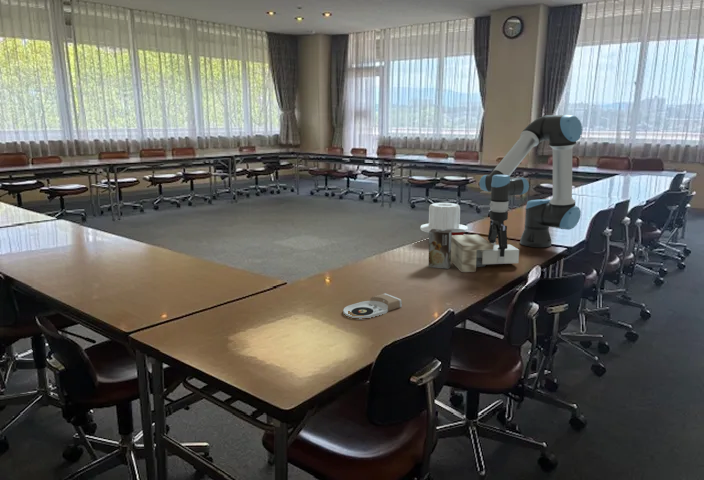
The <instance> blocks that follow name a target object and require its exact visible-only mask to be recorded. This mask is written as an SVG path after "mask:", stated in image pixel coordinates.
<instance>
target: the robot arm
mask: <svg viewBox="0 0 704 480" xmlns="http://www.w3.org/2000/svg"><path fill="white" fill-rule="evenodd" d="M582 133H583V126H582V121H581V120H580V119H579V117H577V116H576V115H573V114H572V115H570V114H557V115H552V114H551V115H543V116H541V117H538V118H536V119H535V120H532V122H531V123H529V124H528V125H527V126H526V127H525V128H524V129H523V130H522V132H520V135H519V136H520V137H519V138H518V140H517V141H516V142H515V143H514V144H513V146H512V147H511V148H510V149H509V151H507V153H506V154H505V155H504V157H503V158H502V159H501V161H499V163H498V164H497V166H495V168H494V169H493V170H492V171H491V173H490V174H484V175H482V177H480V179H479V183H478V184H479V188H480V189H481V190H482V191H484V192H488V193H490V203H489V206H490V207H489V209H490V211H489V220H490V221H489V229H488V235H487V241H488V242H490V243H491V244H493V245H497V244H498V245H499V248H498V262H497V263H498V264H497V265H503V264H504V257H505V249H507V244H508V232H507V230H508V226H507V225H505V221H507V220H508V218H509V216H508V215H509V212H508V210H509V204H510V201H509V199H510V197H511V196H512V197H513V196H521V195H525V194H526V193H528V191H529V189H530V183H529V181H528V179H527V178H525V177H521V176H520V177H511V175H512V174H513V173H514V172H515V170H516V169H517V168H518V167H519V165H520V164H521V163H522V162H523V160H524V159H525V158H526V156H527V155H528V154H530V152H531V150H532V149H533V148H534V147H537V146H538V145H539V144H540V143H541V142H543V141H547V142H548V143H549V144H548V146H549V147H550V148H551V149H552V198H551V199H549V198H548V199H547V198H545V199H544V198H542V199H531V200H528V201H527V202H526V206H525V216H524V217H525V218H524V219H525V220H524V229H523V232H522V235H521V237H520V242H519V243H520V245H522V246H525V247H529V248H548V247H551V246H552V243H553V242H552V237H551V234H550V228H555V229H559V230H567V231H569V230H570V231H571V230H573V229H574V228H575V227H576V226H577V225H578V223H579V221H580V219H581V216H582V215H581V213H582V212H581V209H580V207H578V206H576V200H575V199H574V198H573V148H574V147H575V146H576V145H577V141H579V140H580V138H581V135H582ZM497 241H498V243H497Z"/></svg>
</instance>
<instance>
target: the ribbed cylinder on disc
mask: <svg viewBox="0 0 704 480" xmlns="http://www.w3.org/2000/svg"><path fill="white" fill-rule="evenodd" d="M460 218H461V206H460V204H457V203H452V202H433V203H431V204H429V206H428V223H425V224H424V223H423V224H421V225H420V228H419V229H420V230H421V231H422V232H424V233H428V234H429V231H430V230H431V229H441V230H443V229H464V230H465V232H464V233H466V232H467V231H468V230H469V228H468V226H466V225H464V224H460V222H461V219H460Z"/></svg>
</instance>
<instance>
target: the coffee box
mask: <svg viewBox="0 0 704 480" xmlns="http://www.w3.org/2000/svg"><path fill="white" fill-rule="evenodd" d="M451 236H452V230H441V229H431V230H430V231H429V233H428V268H434V269H435V268H437V269H446V270H447V269H448V270H449V269H450V268H451V267H452V262H451Z"/></svg>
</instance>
